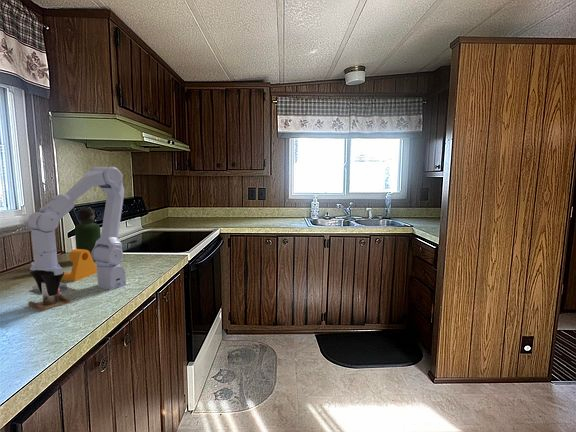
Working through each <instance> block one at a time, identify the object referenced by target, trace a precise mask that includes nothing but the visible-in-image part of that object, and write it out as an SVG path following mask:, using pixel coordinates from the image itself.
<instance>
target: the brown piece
mask: <svg viewBox="0 0 576 432" xmlns="http://www.w3.org/2000/svg"><path fill="white" fill-rule="evenodd" d="M27 303H28V304H27V305H28V307H31V308H32V309H34V310H37V311H40V312H45V311H48V310H51V309H54V308H58V307H60V306H64V305H67V304H69V303H71V298H70V297H67V296H64V295H63V294H62V295H59V294H57V303H55V304H53V305H43V300H42V301H38V302H35V301H33V300H32V301H28V302H27Z"/></svg>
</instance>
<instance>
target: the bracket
mask: <svg viewBox="0 0 576 432" xmlns="http://www.w3.org/2000/svg"><path fill="white" fill-rule="evenodd" d="M68 257H69V261H70V262H71V263H72V266H71V271H69V272H66V273H65V272H64V275H63V277H62V279H61V281H66V282H67V281H69V282H70V281H71V282H77V281H80V280H82V279H85V278H87V277H90V276H92V275H95V274H97V265H96V263H95V261H93V259H92V256H91V254H90V252H89V251H88V250H83V249H76V248H74V249H72V250H71V251H70V253H69V255H68Z"/></svg>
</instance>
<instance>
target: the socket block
mask: <svg viewBox="0 0 576 432" xmlns="http://www.w3.org/2000/svg"><path fill="white" fill-rule="evenodd" d="M59 288H60V294H59V295H62V296H63V295H65V294H69V293H72V292H75V291H77V289H75V288H71V287H69V286H67V283H64V282H61V281H60V284H59ZM31 291H33V292H35V293H38V294H40V295H42V293H41V292H40V290H39V288H38V285H37V284H36V285H33V286H32V289H31Z"/></svg>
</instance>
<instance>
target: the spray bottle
mask: <svg viewBox="0 0 576 432" xmlns="http://www.w3.org/2000/svg"><path fill="white" fill-rule="evenodd" d="M77 217H78V221H79V222H80V223H79V224H77V225H76V226H74V236H75V237H74V239H75V249H83V250H88V251H89V252H90V254H91V253H92V250H93V248H94V247H95V243H96V241H97V240H98V239H99V238H100V237H101V227H100V225H99V224H98V223H96V222H94V221H95V219H96V213H95V210H94V208H91V207H85V208H83V207H82V208H79V210H78V212H77ZM92 259H93V258H92ZM93 261H94V262H96V261H95V260H93Z"/></svg>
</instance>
